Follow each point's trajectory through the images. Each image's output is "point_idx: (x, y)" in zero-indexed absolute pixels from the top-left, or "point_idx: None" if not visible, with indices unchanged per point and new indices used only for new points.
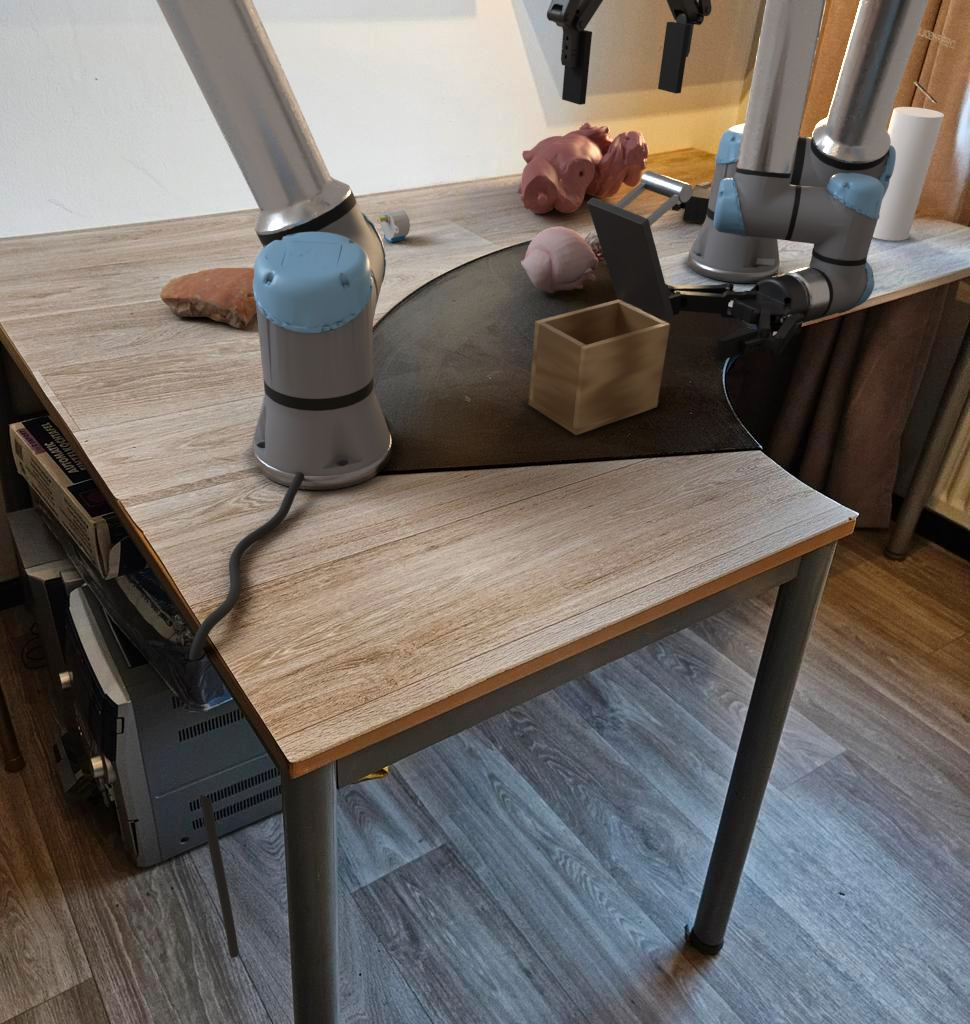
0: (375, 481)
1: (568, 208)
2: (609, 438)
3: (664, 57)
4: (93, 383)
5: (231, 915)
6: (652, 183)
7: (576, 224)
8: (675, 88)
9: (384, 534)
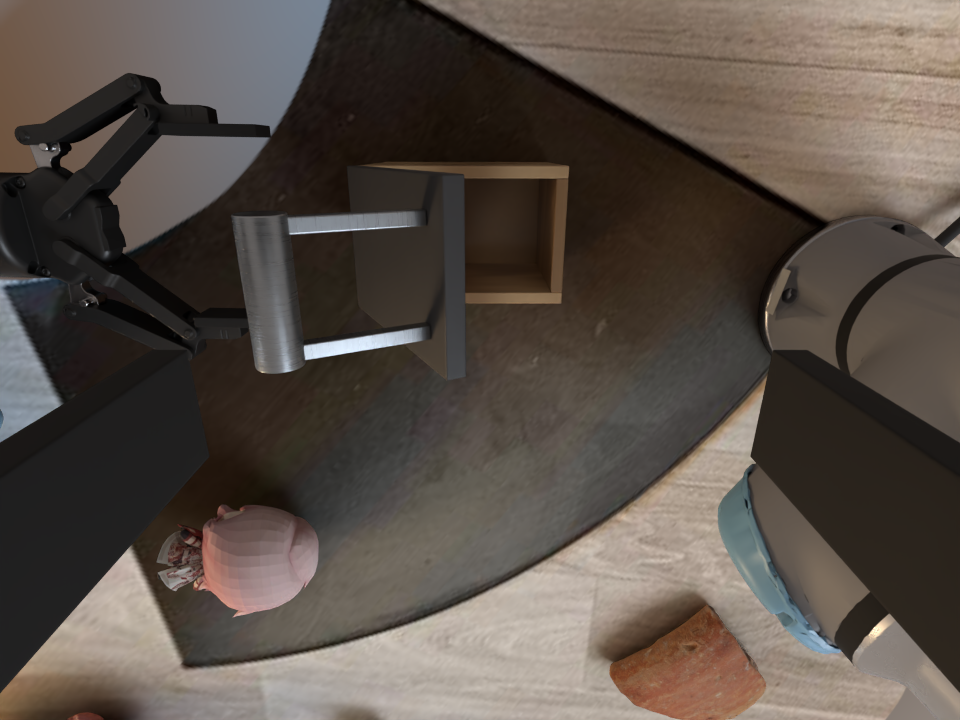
0: (840, 211)
1: (93, 716)
2: (513, 127)
3: (123, 533)
4: None
5: None
6: (298, 322)
7: (98, 685)
8: (176, 365)
9: (921, 96)
